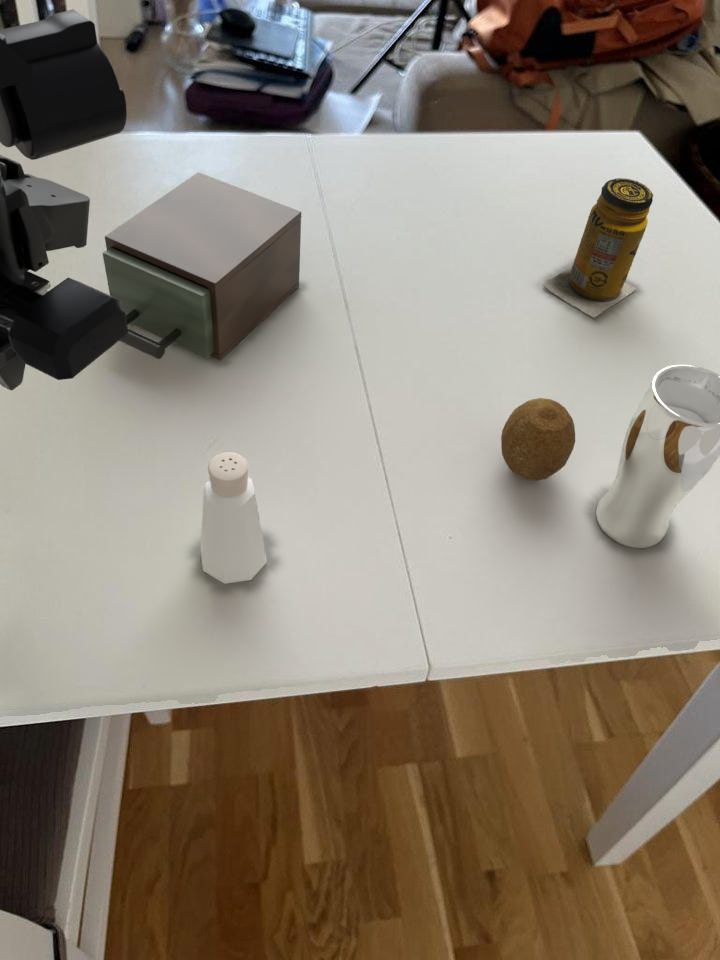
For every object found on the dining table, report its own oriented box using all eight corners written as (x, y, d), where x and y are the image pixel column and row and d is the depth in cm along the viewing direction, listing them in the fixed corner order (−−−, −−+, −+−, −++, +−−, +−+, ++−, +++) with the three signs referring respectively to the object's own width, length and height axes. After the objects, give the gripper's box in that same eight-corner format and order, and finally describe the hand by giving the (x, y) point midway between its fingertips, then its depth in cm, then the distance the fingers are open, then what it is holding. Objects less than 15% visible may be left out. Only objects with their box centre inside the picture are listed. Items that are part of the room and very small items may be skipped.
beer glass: (677, 507, 73) (751, 382, 62) (662, 565, 69) (738, 441, 58) (601, 479, 75) (659, 351, 63) (581, 533, 70) (640, 406, 59)
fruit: (519, 506, 72) (542, 442, 66) (479, 457, 75) (497, 393, 69) (575, 483, 74) (602, 420, 68) (533, 437, 78) (556, 373, 72)
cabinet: (220, 361, 81) (215, 283, 74) (117, 314, 84) (104, 236, 77) (299, 287, 90) (301, 211, 83) (203, 247, 93) (198, 171, 86)
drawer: (181, 382, 77) (174, 319, 72) (85, 337, 80) (72, 273, 75) (283, 288, 88) (284, 228, 82) (195, 252, 91) (190, 191, 85)
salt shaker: (258, 591, 64) (256, 501, 56) (190, 578, 64) (178, 487, 56) (274, 536, 68) (275, 443, 59) (210, 524, 68) (201, 430, 60)
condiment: (636, 290, 94) (674, 193, 85) (593, 319, 90) (629, 221, 81) (584, 260, 98) (616, 164, 89) (540, 287, 93) (569, 189, 84)
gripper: (171, 173, 49) (191, 371, 61) (-62, 82, 54) (-2, 281, 66) (35, 264, 42) (86, 467, 54) (-217, 150, 47) (-119, 359, 59)
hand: (12, 385), depth 58 cm, fingers closed
